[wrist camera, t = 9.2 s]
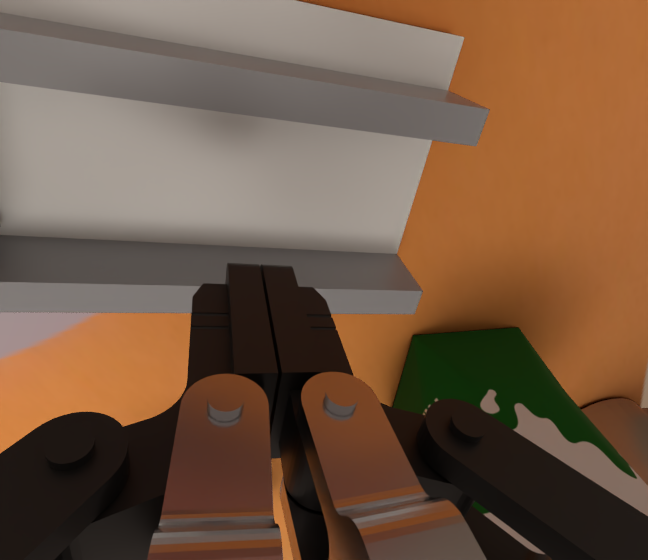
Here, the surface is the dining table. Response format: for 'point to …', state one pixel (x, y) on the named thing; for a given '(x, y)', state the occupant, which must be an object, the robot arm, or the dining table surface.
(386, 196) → the chute
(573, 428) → the milk carton
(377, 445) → the robot arm
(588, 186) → the dining table surface
